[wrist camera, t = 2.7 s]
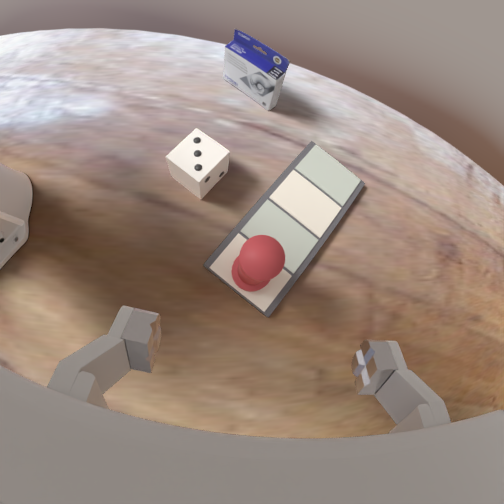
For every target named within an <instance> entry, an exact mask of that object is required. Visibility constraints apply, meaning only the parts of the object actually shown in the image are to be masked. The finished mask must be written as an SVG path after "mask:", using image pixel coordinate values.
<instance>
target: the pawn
mask: <svg viewBox="0 0 504 504" xmlns="http://www.w3.org/2000/svg"><path fill="white" fill-rule="evenodd" d="M284 264H285V252H284V249H283V247H282V246H281V244H280V243H279V242H278V241H277V240H276V239H274V238H273V237H270V236H267V235H256V236H253V237H251V238H249V239H248V240H247V241H246V242H245V243H244V244H243V246H242V248H241V250H240V254H239V256H238V257H237V258H236V259H235V261H234V263H233V265H232V271H231V273H232V278H233V280H234V282H235V284H236V285H237V286H238V287H239V288H241V289H242V290H245V291H249V292H254V291H258V290H260V289H262V288H264V287H265V286H266V285H267V284H268V283H269V281H270V279H273V278H274V277H276V276H277V275H278V274H279V273H280V272H281V271H282V269H283V267H284Z"/></svg>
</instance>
